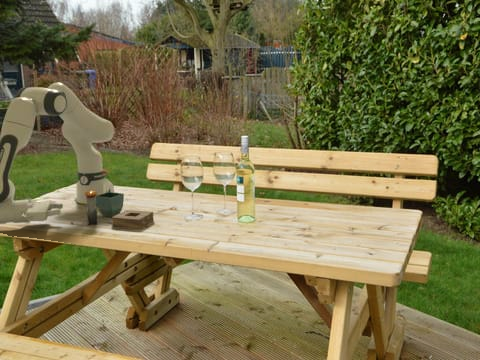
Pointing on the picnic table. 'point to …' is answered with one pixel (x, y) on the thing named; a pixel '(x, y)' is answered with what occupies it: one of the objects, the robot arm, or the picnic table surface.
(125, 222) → the block
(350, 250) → the picnic table surface
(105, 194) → the flower pot
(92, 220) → the pin
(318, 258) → the picnic table surface
